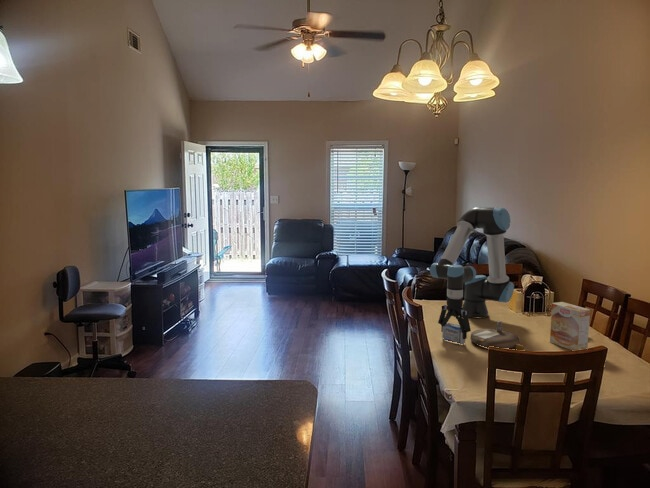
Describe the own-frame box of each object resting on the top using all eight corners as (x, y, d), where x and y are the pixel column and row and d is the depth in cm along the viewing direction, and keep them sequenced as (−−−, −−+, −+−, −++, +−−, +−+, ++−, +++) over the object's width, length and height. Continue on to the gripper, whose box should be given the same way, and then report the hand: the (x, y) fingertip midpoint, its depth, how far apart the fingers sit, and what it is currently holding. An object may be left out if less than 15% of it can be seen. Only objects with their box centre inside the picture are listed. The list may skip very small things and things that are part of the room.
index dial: (461, 338, 219) (461, 325, 218) (488, 329, 232) (489, 316, 231) (501, 352, 201) (502, 337, 200) (528, 341, 214) (529, 327, 213)
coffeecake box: (549, 342, 217) (551, 303, 215) (559, 340, 220) (562, 301, 217) (577, 352, 204) (579, 311, 201) (588, 350, 206) (590, 309, 204)
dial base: (465, 342, 219) (465, 336, 219) (489, 334, 230) (489, 328, 229) (510, 357, 200) (510, 350, 199) (534, 347, 210) (534, 341, 210)
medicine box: (444, 341, 220) (444, 324, 219) (448, 339, 224) (448, 322, 222) (459, 345, 215) (459, 327, 214) (463, 342, 218) (463, 325, 217)
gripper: (431, 293, 223) (430, 337, 226) (469, 303, 205) (468, 350, 208) (441, 291, 228) (440, 334, 230) (479, 300, 209) (478, 346, 212)
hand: (453, 341), depth 219 cm, fingers open, 10 cm apart
